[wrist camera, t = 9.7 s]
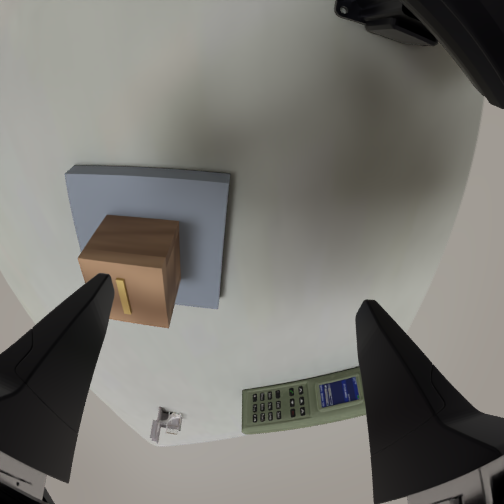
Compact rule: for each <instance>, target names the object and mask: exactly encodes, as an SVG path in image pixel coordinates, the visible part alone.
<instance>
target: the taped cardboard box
mask: <svg viewBox="0 0 504 504" xmlns="http://www.w3.org/2000/svg"><path fill="white" fill-rule="evenodd" d="M78 261H79V264H80V268H81V271H82V274H83V277H84V280H85V283H87V282H88V281H89V280H90V279H92V278H93V277H94V276H96V275H97V274H98V273H105V274H109V275H110V276H111V279H112V283H113V287H114V291H115V295H114V300H113V304H112V308H111V313H110V317H109V319H113V320H119V321H125V322H131V323H137V324H143V325H150V326H157V327H164V328H169V325H170V321H171V317H172V313H173V309H174V305H175V301H176V297H177V293H178V289H179V285H180V281H181V270H180V241H179V221H175V220H164V219H153V218H141V217H130V216H117V215H106V216H105V218H104V219H103V221H102V222H101V224H100V225H99V226H98V228H97V229H96V231H95V232H94V234H93V235H92V237H91V238H90V240H89V241H88V243H87V244H86V246H85V247H84V249H83V251H82V252H81V254H80V255H79V257H78Z"/></svg>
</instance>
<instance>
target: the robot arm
mask: <svg viewBox="0 0 504 504" xmlns="http://www.w3.org/2000/svg"><path fill="white" fill-rule="evenodd" d="M341 7H344V8H345V9H346V14H343V13H341V11H340V8H341ZM334 11H335V13H336V15H337V16H339V17H341V18H345V19H348V20H352V21H355V22H358V23H362V24H365V25H366V26H365V28H366V29H367V30H368V31H370V32H373V33H376V34H379V35H381V36H384V37H387V38H390V39H393V40H395V41H398V42H400V43H404V44H417V45H421V46H435V45H437V44H438V41H439V42H440V43H441V44H442V46H443V47H444V48H445V49H446V50H447V51H448V53H449V54H450V55H451V56H452V58H453V59H454V60H455V61H456V63H457V64H458V65H459V67H460V68H461V69H462V70H463V72H464V73H465V75H466V76H467V77H468V79H469V80H470V81H471V83H472V84H473V86H474V87H475V88H476V89H477V90H478V91H479V92H480V93H481V94H482V95H483V96H485V97H486V98H487V100H488V101H489V103H490V104H492V105H494V106H497V107H499V108H501V109H504V0H336V1H335V7H334ZM114 295H115V291H114V287H113V283H112V279H111V276H110V275H109V274H105V273H98V274H97V275H96V276H94V277H93V278H92V279H90V280H89V281H88V282H87V283H85V284H84V285H83V286H82V287H80V288H79V289H78V290H77V291H75V292H74V293H73V294H72V295H70V296H69V297H68V298H67V299H66V300H64V301H63V302H62V303H61V304H60V305H58V306H57V307H56V308H55V309H54V310H52V311H51V312H50V313H49V314H48V315H46V316H45V317H44V318H43V319H42V320H41V321H39V322H38V323H37V324H36V325H35V326H34V327H33V329H30V330H29V331H28V332H27V333H26V334H25V335H23V336H22V337H21V338H20V339H19V340H18V341H17V342H15V343H14V344H13V345H11V346H10V347H9V348H8V349H6V350H5V351H4V352H2V353H1V354H0V504H55V503H54V502H53V500H52V499H51V497H50V495H49V493H48V492H47V490H46V489H45V487H44V486H45V481H46V476H47V475H49V476H51V477H53V478H56V479H58V480H60V481H63V482H66V483H69V479H70V473H71V467H72V462H73V456H74V451H75V446H76V441H77V437H78V434H77V433H78V431H79V427H80V423H81V418H82V414H83V410H84V406H85V402H86V398H87V395H88V391H89V387H90V384H91V380H92V377H93V373H94V370H95V366H96V363H97V360H98V357H99V353H100V350H101V347H102V344H103V341H104V338H105V334H106V330H107V326H108V322H109V317H110V313H111V308H112V304H113V300H114ZM355 321H356V335H357V351H358V360H359V367H360V373H361V379H362V386H363V393H364V400H365V408H366V416H367V424H368V433H369V442H370V453H371V466H372V480H373V498H374V504H380V503H384V502H388V501H392V500H396V499H399V498H403V497H406V496H407V500H408V504H504V418H501V417H497V416H493V415H488V414H484V413H482V412H480V411H478V410H477V409H476V408H474V407H473V406H472V405H471V404H470V403H469V402H468V401H467V400H466V399H465V398H464V397H463V396H462V395H461V394H460V393H459V392H458V391H457V390H456V389H455V388H454V387H453V386H452V385H451V384H450V383H449V381H448V380H447V379H446V378H445V377H444V376H443V375H442V374H441V373H440V372H439V370H438V369H437V368H436V367H435V366H434V365H432V362H431V361H430V360H429V359H428V358H427V357H426V355H424V353H423V352H422V351H421V350H420V349H419V347H418V346H417V345H416V344H415V343H414V342H413V341H412V340H411V338H410V337H409V336H408V335H407V334H406V333H405V332H404V331H403V330H402V328H401V327H400V326H399V325H398V324H397V323H396V322H395V321H394V320H393V319H392V318H391V316H390V315H389V314H388V313H387V312H386V311H385V310H384V309H383V308H382V307H381V306H380V305H379V304H378V303H377V302H376V301H375V300H364V301H363V303H362V305H361V306H360V308H359V310H358V312H357V314H356V319H355Z"/></svg>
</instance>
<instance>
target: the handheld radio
mask: <svg viewBox="0 0 504 504" xmlns="http://www.w3.org/2000/svg"><path fill="white" fill-rule="evenodd" d="M363 415H366V408H365V400H364V393H363V386H362V379H361V373H360V367H357V368H353V369H349V370H345V371H341V372H337V373H333V374H328V375H324V376H320V377H315V378H310V379H305V380H300V381H295V382H290V383H284V384H279V385H273V386H267V387H261V388H254V389H247V390H243V391H242V433H244V434H260V433H269V432H277V431H285V430H292V429H298V428H305V427H311V426H316V425H321V424H327V423H332V422H337V421H341V420H346V419H350V418H355V417H358V416H363Z"/></svg>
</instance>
